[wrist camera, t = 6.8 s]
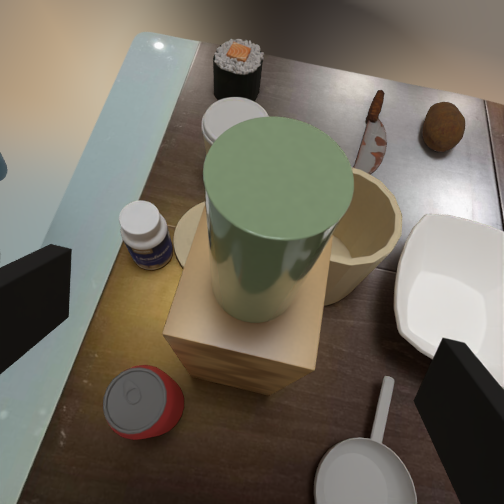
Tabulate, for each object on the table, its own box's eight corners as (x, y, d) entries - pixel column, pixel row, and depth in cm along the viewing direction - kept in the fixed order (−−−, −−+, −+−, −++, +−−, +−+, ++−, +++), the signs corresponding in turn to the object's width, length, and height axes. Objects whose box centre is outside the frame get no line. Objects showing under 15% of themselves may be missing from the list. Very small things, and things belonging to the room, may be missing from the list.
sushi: (208, 99, 65) (206, 59, 58) (225, 70, 68) (225, 29, 61) (250, 113, 64) (254, 74, 57) (265, 83, 68) (270, 43, 61)
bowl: (388, 228, 56) (415, 197, 48) (520, 278, 54) (570, 254, 46) (355, 353, 47) (381, 340, 40) (511, 418, 45) (570, 418, 38)
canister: (200, 311, 24) (183, 218, 13) (223, 233, 26) (224, 102, 16) (289, 332, 24) (346, 256, 13) (303, 252, 26) (360, 133, 15)
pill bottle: (142, 277, 50) (124, 245, 41) (126, 244, 51) (106, 207, 42) (180, 260, 51) (171, 225, 42) (163, 228, 53) (151, 189, 44)
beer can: (168, 365, 45) (151, 347, 34) (194, 414, 43) (185, 411, 32) (119, 396, 43) (84, 387, 32) (143, 448, 41) (115, 458, 30)
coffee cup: (256, 207, 56) (264, 155, 45) (198, 193, 56) (192, 139, 45) (268, 160, 60) (278, 103, 49) (213, 148, 60) (211, 88, 49)
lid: (161, 273, 50) (146, 236, 40) (190, 194, 56) (183, 144, 46) (256, 296, 50) (265, 263, 40) (275, 214, 56) (287, 168, 45)
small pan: (296, 525, 39) (303, 535, 35) (337, 364, 47) (347, 359, 43) (392, 567, 38) (409, 581, 35) (418, 396, 46) (434, 393, 42)
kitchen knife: (377, 185, 59) (349, 173, 58) (372, 190, 60) (345, 178, 60) (402, 97, 67) (378, 86, 67) (397, 104, 68) (373, 93, 68)
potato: (449, 121, 67) (469, 93, 62) (457, 162, 63) (480, 137, 57) (414, 116, 67) (432, 88, 61) (420, 158, 63) (439, 131, 57)
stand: (190, 376, 45) (161, 333, 23) (212, 301, 49) (204, 205, 27) (269, 395, 44) (315, 370, 23) (283, 318, 49) (333, 235, 27)
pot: (264, 294, 50) (279, 248, 37) (280, 218, 55) (298, 155, 42) (353, 315, 50) (400, 276, 36) (360, 236, 55) (403, 179, 42)
